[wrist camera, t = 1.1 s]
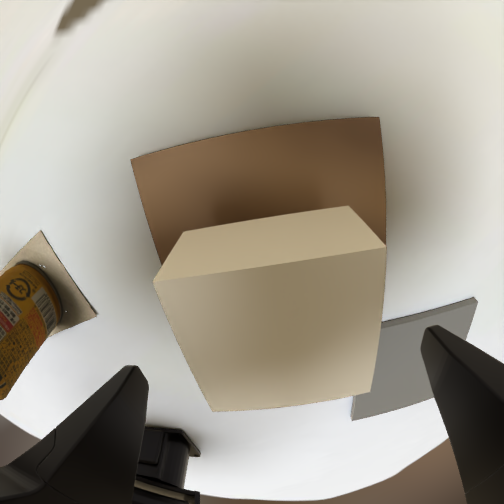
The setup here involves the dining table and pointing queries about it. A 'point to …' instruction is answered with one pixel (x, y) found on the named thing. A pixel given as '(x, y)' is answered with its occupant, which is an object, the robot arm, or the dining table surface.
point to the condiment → (34, 307)
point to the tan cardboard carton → (277, 308)
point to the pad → (407, 359)
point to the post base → (264, 177)
